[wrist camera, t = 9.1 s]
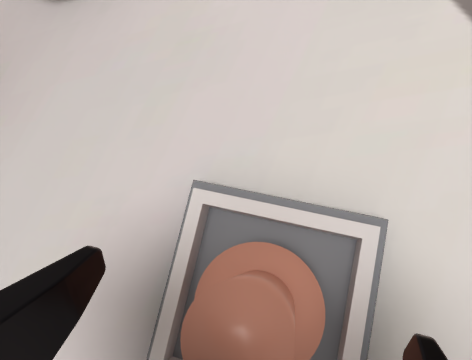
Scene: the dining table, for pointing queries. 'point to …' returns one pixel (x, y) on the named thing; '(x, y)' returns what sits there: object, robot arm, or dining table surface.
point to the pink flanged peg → (254, 307)
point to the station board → (291, 238)
